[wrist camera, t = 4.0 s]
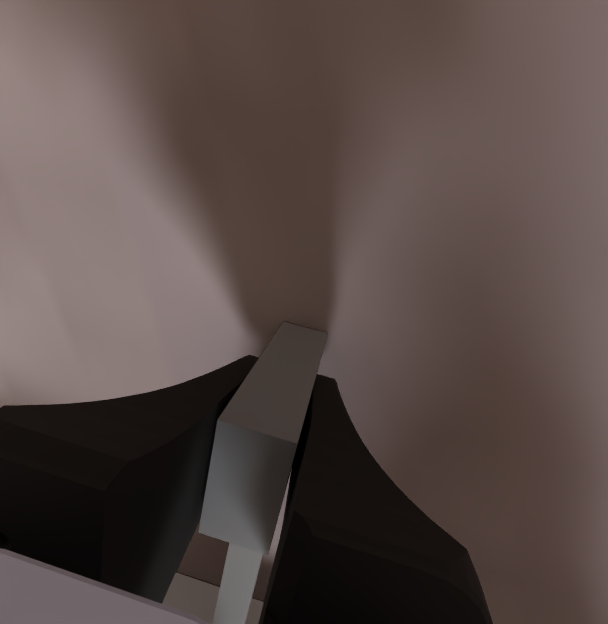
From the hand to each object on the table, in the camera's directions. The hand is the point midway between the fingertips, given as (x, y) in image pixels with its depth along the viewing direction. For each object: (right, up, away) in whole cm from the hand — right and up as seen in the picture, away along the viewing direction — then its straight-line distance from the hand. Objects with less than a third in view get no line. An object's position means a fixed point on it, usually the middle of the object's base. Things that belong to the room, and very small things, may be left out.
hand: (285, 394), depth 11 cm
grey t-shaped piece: (-1, -5, +4) cm, 6 cm away
